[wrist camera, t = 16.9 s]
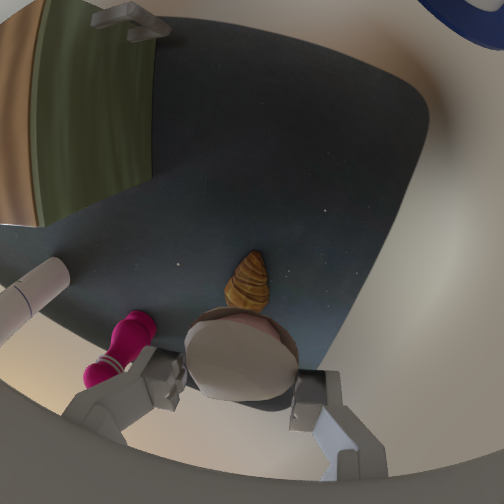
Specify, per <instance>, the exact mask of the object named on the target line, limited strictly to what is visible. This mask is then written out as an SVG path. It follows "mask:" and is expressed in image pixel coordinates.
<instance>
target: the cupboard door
mask: <svg viewBox="0 0 504 504" xmlns="http://www.w3.org/2000/svg"><path fill="white" fill-rule="evenodd" d="M129 20H134V21H136V22H138V23H139V24H141V25H143V26H140V27H138V26H137V25H135V24H133V23H131V22H129ZM171 31H172V28H171V27H170V26H169V25H168V24H166V23H165V22H163V21H162V20H160V19H159V18H157V17H156V16H154V15H153V14H151V13H150V12H148V11H147V10H145V9H144V8H142V7H140V6H139V5H137V4H136V3H134V2H127V3H124V4H121V5H117V6H114V7H111V8H109V9H105V10H103V9H101V8H99V7H97V6H95V5H92V4H90V3H88V2H85V1H82V0H46V2H45V6H44V10H43V15H42V19H41V24H40V29H39V34H38V39H37V45H36V52H35V59H34V68H33V77H32V90H31V111H30V140H31V162H32V175H33V185H34V194H35V202H36V209H37V215H38V221H39V227H47V226H49V225H51V224H53V223H55V222H57V221H58V220H60V219H62V218H64V217H67V216H69V215H71V214H73V213H75V212H77V211H79V210H81V209H83V208H85V207H87V206H90V205H92V204H94V203H96V202H98V201H101V200H103V199H105V198H107V197H110V196H112V195H114V194H117V193H119V192H121V191H124V190H126V189H128V188H131V187H133V186H136V185H138V184H141V183H143V182H146V181H148V180H151V179H152V160H151V122H152V90H153V72H154V58H155V47H156V38H160V37H165V36H168V35H169V34H170V33H171Z"/></svg>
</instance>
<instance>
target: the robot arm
mask: <svg viewBox="0 0 504 504" xmlns="http://www.w3.org/2000/svg"><path fill="white" fill-rule="evenodd" d="M465 1H466V2H468V3H469V4H471V5H473V6H475V7H477V8H479V9H481V10H484V11H489V12H493V11H497V10H498V9H499V8H500V7H501V6H502V5H503V4H504V0H465ZM184 362H185V357H184V354H183V353H179V352H175V351H170V350H166V349H162V348H157V347H153V346H149V345H146V346H145V347H144V348H143V349H142V351H141V352H140V354H139V355H138V357H137V358H136V360H135V361H134V363H133V364H132V366H131V367H130V369H129V370H128V372H122V373H120V374H118V375H116V376H114V377H112V378H110V379H108V380H106V381H103V382H101V383H99V384H97V385H95V386H93V387H91V388H88V389H86V390H84V391H82V392H80V393H77V394H76V395H75V397H74V398H73V400H72V401H71V402H70V404H69V405H68V407H67V408H66V409H65V411H64V412H63V414H62V415H61V416H60V415H58V414H56V413H54V412H52V411H50V410H48V409H47V408H45V407H43V406H41V405H40V404H38V403H37V402H35V401H33V400H31V399H30V398H28V397H27V396H25V395H24V394H22V393H20V392H19V391H17V390H16V389H14V388H13V387H11V386H10V385H8V384H7V383H6V382H4V381H3V380H1V379H0V504H504V449H502V450H499V451H496V452H494V453H491V454H488V455H485V456H482V457H479V458H476V459H473V460H469V461H466V462H462V463H459V464H455V465H451V466H447V467H443V468H438V469H434V470H429V471H424V472H419V473H414V474H408V475H401V476H393V477H388V469H387V461H386V453H385V448H384V446H383V445H382V444H381V443H380V441H379V440H378V439H377V438H376V437H375V436H374V435H373V434H372V433H371V432H370V431H369V430H368V429H367V428H366V426H365V425H364V424H363V423H362V422H361V421H360V420H359V419H358V417H356V415H355V414H354V413H353V412H352V411H351V410H350V409H349V408H348V407H347V406H343V403H342V392H341V383H340V382H341V381H340V373H339V371H324V370H307V369H297V374H296V379H295V384H294V387H293V393H292V401H291V408H292V411H291V415H290V426H289V431H294V432H305V433H312V435H313V436H314V438H315V440H316V441H317V443H318V444H319V446H320V448H321V449H322V451H323V452H324V454H325V455H326V457H327V458H328V460H329V461H330V463H331V464H330V466H329V467H328V469H327V470H326V472H325V473H324V475H323V476H322V478H321V479H320V481H303V480H285V479H273V478H263V477H254V476H246V475H240V474H234V473H227V472H222V471H217V470H212V469H207V468H202V467H197V466H193V465H189V464H185V463H181V462H177V461H174V460H170V459H166V458H163V457H160V456H157V455H153V454H150V453H147V452H144V451H141V450H138V449H135V448H132V447H130V446H127V442H126V440H125V438H124V437H123V435H122V433H121V431H122V430H124V429H125V428H127V427H128V426H130V425H131V424H133V423H134V422H135V421H137V420H138V419H140V418H141V417H142V416H144V415H145V414H147V413H148V412H150V411H151V410H152V409H153V407H154V408H158V409H162V410H166V411H170V412H174V411H175V409H176V407H177V405H178V402H179V400H180V399H179V393H181V392H183V390H184V388H185V386H186V381H187V369H186V368H185V366H184V365H183V364H184Z"/></svg>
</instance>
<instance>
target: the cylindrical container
mask: <svg viewBox="0 0 504 504" xmlns="http://www.w3.org/2000/svg"><path fill="white" fill-rule="evenodd" d="M69 284H70V275H69V272H68V269H67V267H66V266H65V264H64V263H63V262H62V261H61V260H60V259H58V258H56V257H51V258H49V259H48V260H46V261H45V262H43V263H42V264H40V265H39V266H37V267H36V268H34V269H33V270H32V271H30V272H29V273H27V274H26V275H24V276H23V277H22V278H20V279H19V280H18V281H16V282H15V283H13V284H12V285H11V286H9V287H8V288H7V289H5V290H4V291H3V292H1V293H0V347H1V346H2V345H3V344H4V343H5V342H6V341H7V340H8V339H9V338H10V337H11V336H12V335H13V334H14V333H15V332H17V330H19V329H20V328H21V327H22V326H23V325H24V324H25V323H26V322H27V321H28V320H29V319H31V318H32V317H33V316H34V315H35V314H36V313H37V312H38V311H40V310H41V309H42V308H43V307H44V306H45V305H46V304H48V303H49V302H50V301H51V300H52V299H53V298H55V297H56V296H57V295H58V294H59V293H60V292H62V291H63V290H64V289H65V288H66V287H68V286H69Z"/></svg>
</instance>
